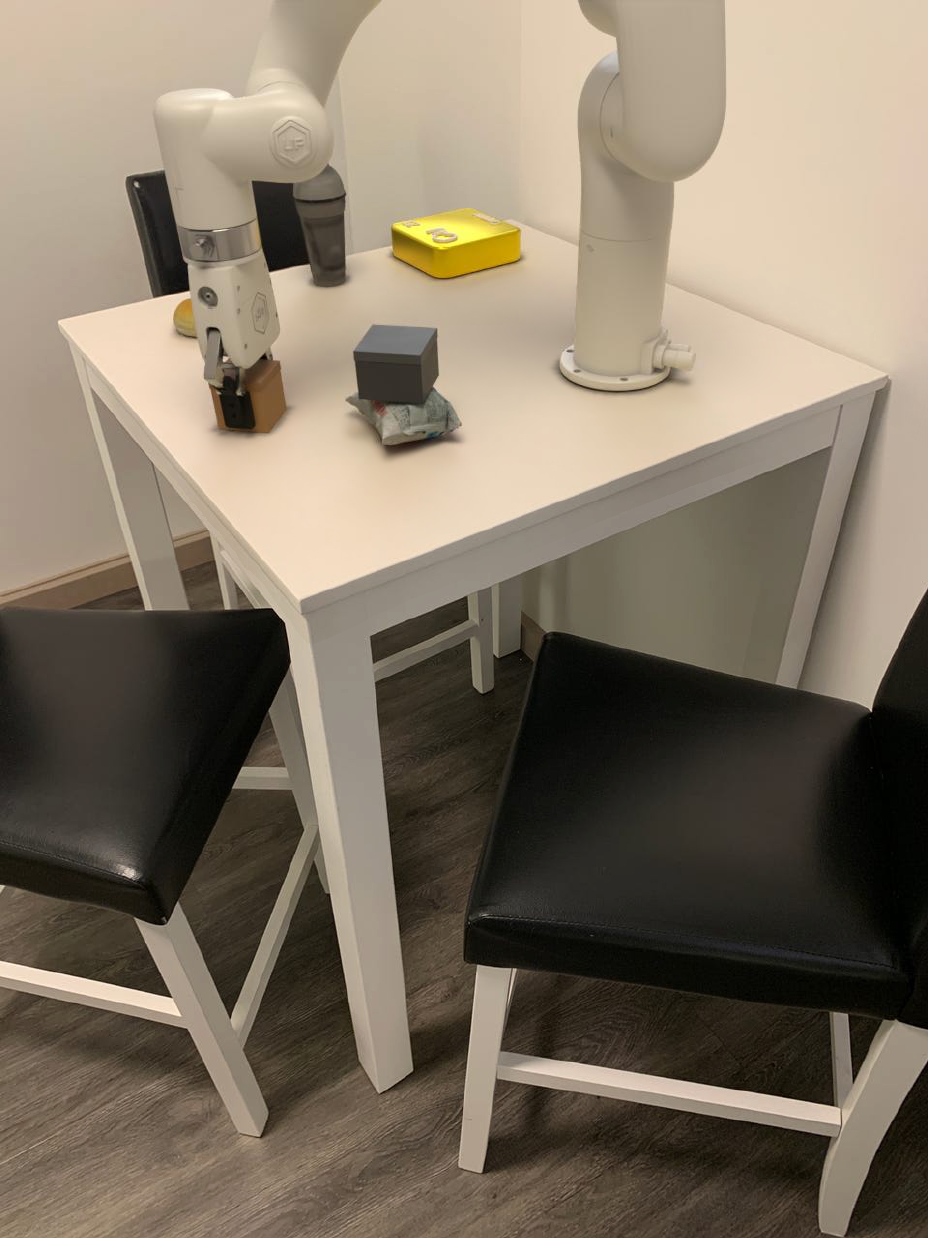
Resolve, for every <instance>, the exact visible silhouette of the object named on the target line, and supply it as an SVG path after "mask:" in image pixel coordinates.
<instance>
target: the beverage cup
mask: <svg viewBox="0 0 928 1238" xmlns="http://www.w3.org/2000/svg"><path fill="white" fill-rule="evenodd" d="M292 184H293V185H292V200H293V202H294V206H295V209H296V212H297V215H298V216H299V223H300V227H301V231H302V235H303V240H304V245H305V250H306V253H307V259H308V263H309V267H310V272H311V274H312V278H313V284H314V285H316V286H317V287H324V288H329V287H330V288H331V287H337V286H340V285H343V284H344V283H346V281H347V280H346V270H347V264H346V263H347V261H346V259H347V258H346V231H345V230H346V227H345V225H346V224H345V211H346V202H347V201H346V196H347V192H346V189H345V184H344V182H343V179H342V177H341V175H340V174H339V172H338V171H337V170H336V169H335V168H334V167H333V166H332V165H329V163H328V164H327V166H326V167H325V168H324V170H323V171H322V172H321V173H319V174H318V175H317V176H315V177H314V178H312V179H309V180H307V181H303V182H297V183H292Z"/></svg>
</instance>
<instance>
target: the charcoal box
mask: <svg viewBox="0 0 928 1238" xmlns="http://www.w3.org/2000/svg"><path fill="white" fill-rule="evenodd" d="M438 337H439V335H438V327H428V326H427V327H425V326H410V325H409V326H408V325H391V324H376V323H375V324H374V323H373V324H372V325H371V326H370V327H369V329H368V330H367V332H366V333H365V334H364V335H363V337H362V338H361V340H360V341H359V342H358V344H357V345H356V346H355V348H354V349H353V350H352V355H353V361H354V369H355V377H356V387H357V392H358V396H359V399H364V400H378V401H392V402H406V403H420V404H423V403H424V401H425V400H426V398H427V396H428V394H429V392H430V390H431V389H432V387H434V386H435V383H436V381H437V380H438V377H439V376H440V369H439V367H440V365H439V350H438V349H439V348H438Z"/></svg>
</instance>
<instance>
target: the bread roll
mask: <svg viewBox="0 0 928 1238" xmlns="http://www.w3.org/2000/svg"><path fill="white" fill-rule="evenodd" d="M172 322H173V325H174V328H175V329H176V331H178V332H179V333H180V334H182V335H184V336H187V337H188V336H189V337H193V338H194V337H195V338H197V334H196V329H195V323H194V317H193V310H192V303H191V297H189V298H186V299H183V300H182V301H181V302H179V303H178V305H176V307H175V310H174V311H173V317H172Z"/></svg>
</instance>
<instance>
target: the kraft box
mask: <svg viewBox="0 0 928 1238" xmlns="http://www.w3.org/2000/svg"><path fill="white" fill-rule="evenodd" d="M225 362H232V361H231V359H230V358H229V357H228V358H227V359H226V360H225ZM281 365H282V364H281V360H277V359H273V360H264V359H258V360H257V361H256V363H254V364H253V365H252V366H251V367H250V368H247V369H245V392H250V397H251V402H252V408H253V413H254V419H255V424H256V425H255V427H254V428H253V429H252V430H250V429H238V428H228V427H226V425H225V422H224V417H223V412H222V407H221V402H220V398H219V394H217V393H216V391H215V388H214V387H213V386H212V385H211V384H210V383H209V382H207V383H208V388H209V389H210V394H211V398H212V404H213V408H214V413H215V418H216V424H217V427H218V430H227V431H240V432H253V433H265V434H269V432H270V431H271V430H272V429H273V428H274V426H275V425H276V424H277V422H279V420H280V418H282V416H283V415H284V413H285V412H286V411H287V402H286V396H285V389H284V383H283V376H282V366H281ZM224 372H225V375H226V376H230V377H231V378H232V379H234V380H235V370H232V369H224Z"/></svg>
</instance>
